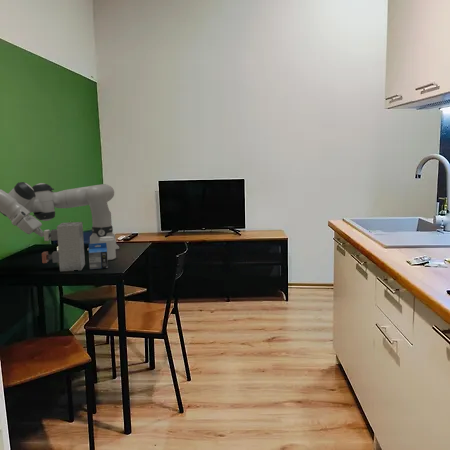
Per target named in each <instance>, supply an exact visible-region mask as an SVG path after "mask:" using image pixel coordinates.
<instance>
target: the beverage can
mask: <svg viewBox="0 0 450 450" xmlns="http://www.w3.org/2000/svg"><path fill="white" fill-rule="evenodd" d="M115 239H116V237H115V238H114V237H113V236H104V237H100V243H106V245H107V258H108V261H112V260H115V259H116V258H117V254H116V253H117V252H116V250H117V249H115ZM100 246H101V245H100Z"/></svg>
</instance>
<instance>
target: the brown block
mask: <svg viewBox="0 0 450 450" xmlns="http://www.w3.org/2000/svg"><path fill="white" fill-rule="evenodd" d="M41 260H42V261H41V262H42V264H48V262H49V261H50V260H52V254H49V251H43V252H42V253H41Z"/></svg>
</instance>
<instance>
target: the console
mask: <svg viewBox="0 0 450 450" xmlns="http://www.w3.org/2000/svg"><path fill="white" fill-rule="evenodd" d="M50 233H51V239H50V240H51V241H53V242H54V241H57V247H58V248H57V249H58V250H55V251H53V252H52V253H51V255H52V259H51V260H52V263H53V264H56V263H59V272H75V271H74V270H78V271H83V268H84V267H85V265H86V261H85V244H84V227H83V221H77V222H76V221H75V222H74V221H73V222H61V223H60V224H58V225H57V226H56V229H51V230H50Z"/></svg>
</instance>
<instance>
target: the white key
mask: <svg viewBox="0 0 450 450" xmlns="http://www.w3.org/2000/svg"><path fill="white" fill-rule="evenodd" d="M50 231H51V230H50V229H44V230H43V232H44V236H43V238H44V240H43V241H44V242H49V241H50V240H51V232H50Z"/></svg>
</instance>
